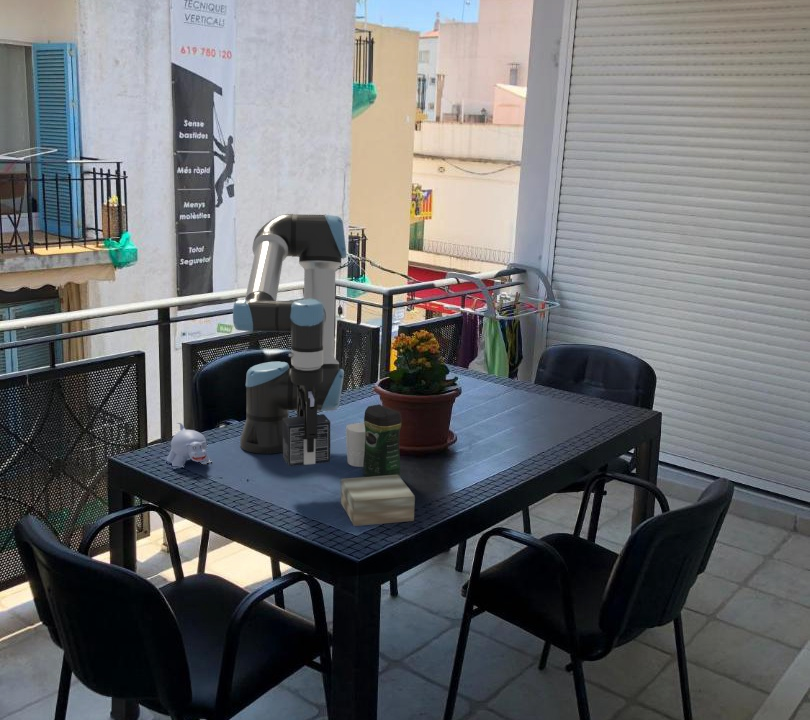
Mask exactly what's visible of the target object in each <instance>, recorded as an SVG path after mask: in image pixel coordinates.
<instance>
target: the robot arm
mask: <svg viewBox="0 0 810 720" xmlns="http://www.w3.org/2000/svg"><path fill="white" fill-rule="evenodd" d="M345 237H346V236H345V229H344V221H343V220H342V218H341V216H337V215H331V214H298V213H297V214H296V213H295V214H294V213H286V214H282V215H278V216H276V217H274V218H272V219H270V220H268V222H266V223H265V224H264V225H263V226H262V227H261V228H260V229H259V230H258V232H257V233H256V235H255V236H254V239H253V243H252V253H253V256H254V257H253V260H252V261H253V262H252V266H251V270H250V275H249V279H248V285H247V289H246V292H245V293H246V294H245V298H243V299H237V300H235V302H234V303H233V308H232V322H233V327H234V329H235V330H237V331H243V332H250V333H251V332H252V333H253V332H268V333H269V332H275V333H278V332H279V333H291V334H290V335H291V336H290V338H291V342H290V343H291V345H290V348H291V352H290V353H288V357H289V358H290V363H291V368H290V365H289V363H288V362H285V361H268V362H262V363H259V364H255V365H253V366H251V367H249V369H248V370H247V372H246V379H245V389H246V390H245V391H246V392H245V396H246V397H245V400H246V404H245V405H246V409H245V410H246V416H245V417H246V420H245V423H244V426H243V429H242V432H241V435H240V439H239V440H240V448H241V449H242V450H244V451H246V452H249V453H254V454H261V455H263V454H264V455H265V454H267V455H269V454H270V455H271V454H279V453H283V418H288V417H289V416H290V415H289V412H290V411H295V412H296V417H299V416H304V430H305V437H302V440H303V439H304V465H303V466H306V465H307V464H308V465H315V450H316V439H317V438H318V435H317V415H318V412H321V413H322V412H334V411H336V410H338V408H339V407H340V403H341V402H340V401H341V395H342V390H343V383H344V375H345V370H344V369H342V368H340V362H339V360H337V359H336V358H335V314H336V313H335V312H336V311H335V310H336V309H335V307H336V273H337V272H336V271H337V270H338V268H340V267H341V266H342V259H346V258H347V247H346V246H347V245H346V238H345ZM287 257H294V258H298V259H299V260H298V263H299V265H300V266H301V267H302V268H303V269H304V272H303V273H304V275H303V276H304V277H303V280H304V281H303V299H298V300H296V301H295V300H294V301H293V300H277V299H278V291H279V287H280V286H279V285H280V281H281V280H280V279H281V274H282V268H283V262H285V260H286V258H287Z"/></svg>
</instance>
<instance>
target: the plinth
mask: <svg viewBox="0 0 810 720" xmlns="http://www.w3.org/2000/svg"><path fill="white" fill-rule="evenodd" d="M340 482H341V483H340V504H341V505H342V508H343V509H344V511H345V512H346V514H347V516H348V517H349V520H350V521H351V523H352V526H354V527H358V526H359V527H361V526H368V525H380V524H381V525H383V524H392V523H393V524H395V523H402V522H403V523H404V522H414V521H415V504H416V503H415V501H416V497H415V494H414V493H413V492H412V491H411V489H410V488H409V487H408V486H407V484H406V483H405V481H404V480H403V479H402V478H401V476H399V475H386V476H373V477H367V476H360V477H350V478H349V477H347V478H341V479H340Z"/></svg>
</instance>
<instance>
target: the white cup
mask: <svg viewBox="0 0 810 720" xmlns="http://www.w3.org/2000/svg"><path fill="white" fill-rule="evenodd" d="M345 438H346V439H345V442H346V454H347V458H346V459H347V460H346V461H347V464H348V465H350V466H351V467H356V468H363V463H364V452H365V424H364V422H355V423H350V424H347V425H346V426H345Z"/></svg>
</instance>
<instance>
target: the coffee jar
mask: <svg viewBox="0 0 810 720" xmlns="http://www.w3.org/2000/svg"><path fill="white" fill-rule="evenodd" d="M363 423H364V424H365V452H364V463H363V467H362V472H363V475H364V476H365V477H373V476H386V475H399V477H401V459H400V456H401V455H400V454H401V453H400V433H401V432H400V431H401V427H402V413H401V412H400V411H399V410H396V409H392V408H390V407H387V406H384V405H381V404H373V405H368V406H367V407H366V409H365V411H364V417H363Z"/></svg>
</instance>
